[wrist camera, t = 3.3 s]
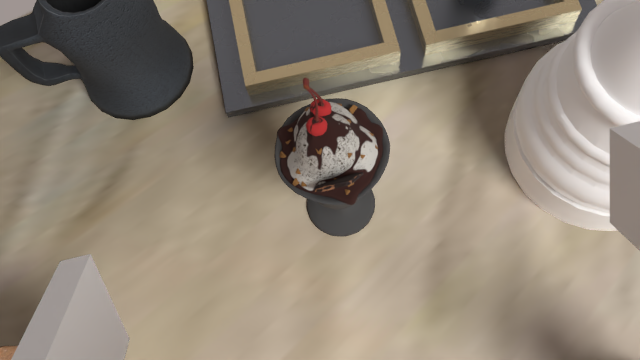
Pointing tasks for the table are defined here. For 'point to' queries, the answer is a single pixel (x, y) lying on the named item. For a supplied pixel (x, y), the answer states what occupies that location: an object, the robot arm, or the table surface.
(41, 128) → the table surface
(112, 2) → the mug
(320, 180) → the sundae
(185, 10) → the table surface
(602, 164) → the honey pot
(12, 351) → the lidded bowl
